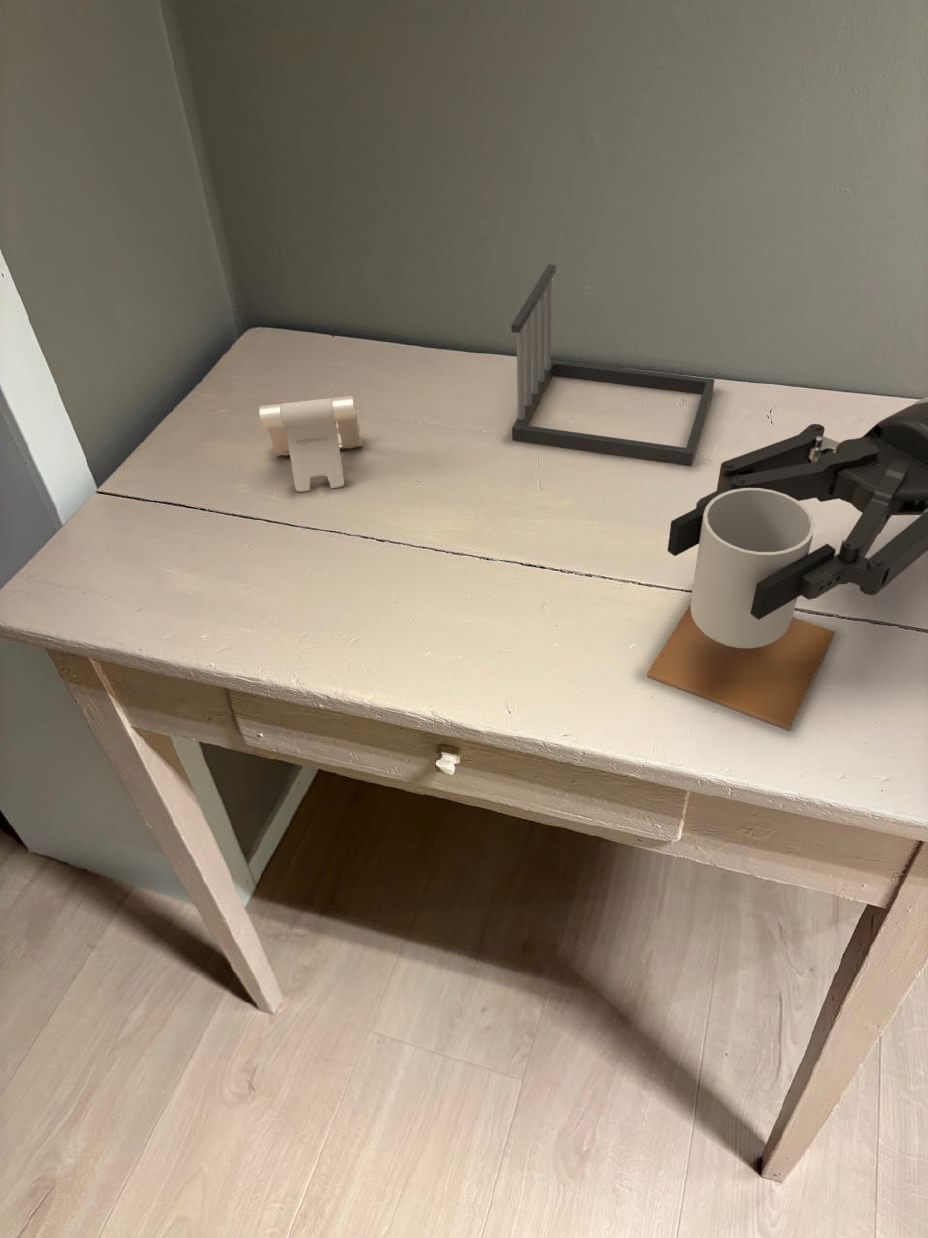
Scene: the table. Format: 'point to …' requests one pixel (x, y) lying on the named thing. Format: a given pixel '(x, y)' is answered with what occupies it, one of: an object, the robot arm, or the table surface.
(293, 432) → the tablet stand
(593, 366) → the dish rack
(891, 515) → the robot arm
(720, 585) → the cup
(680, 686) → the cork pad
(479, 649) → the table surface
